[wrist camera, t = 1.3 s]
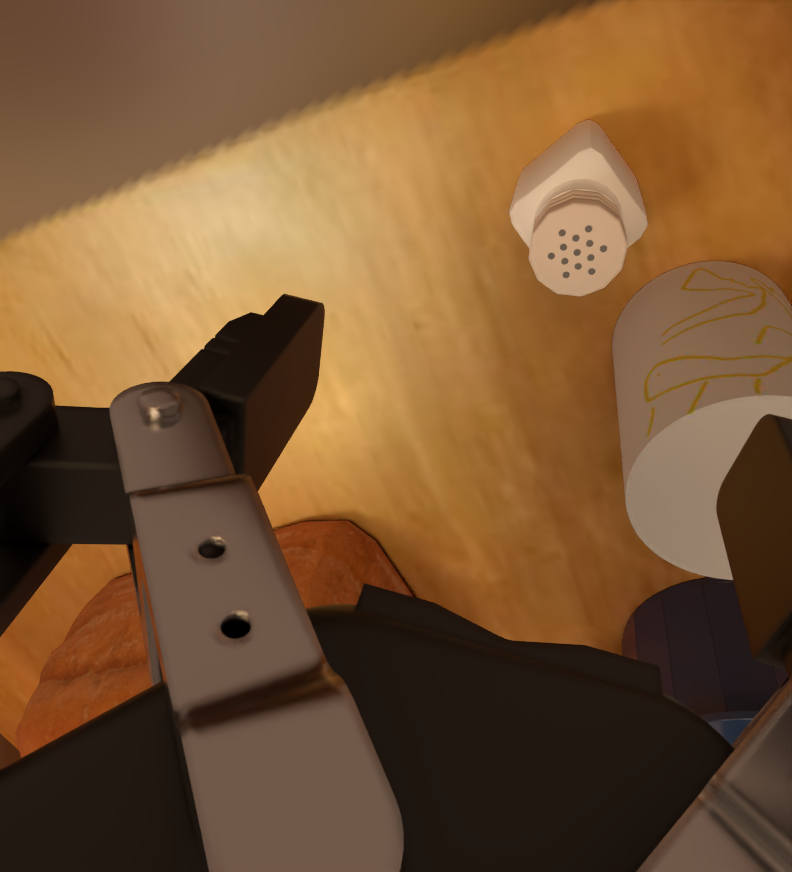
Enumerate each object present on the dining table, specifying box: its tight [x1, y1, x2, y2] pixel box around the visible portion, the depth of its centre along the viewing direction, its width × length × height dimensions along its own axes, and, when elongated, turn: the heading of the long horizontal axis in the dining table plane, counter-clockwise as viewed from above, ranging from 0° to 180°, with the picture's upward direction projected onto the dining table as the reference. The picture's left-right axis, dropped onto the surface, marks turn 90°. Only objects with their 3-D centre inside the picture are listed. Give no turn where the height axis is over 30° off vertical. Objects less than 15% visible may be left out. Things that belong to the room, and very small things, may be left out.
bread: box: [15, 521, 413, 758], centre depth 47 cm, size 14×27×15 cm, turn 119°
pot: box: [622, 577, 788, 715], centre depth 40 cm, size 13×13×10 cm
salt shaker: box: [509, 119, 648, 297], centre depth 26 cm, size 4×4×10 cm
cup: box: [612, 261, 792, 580], centre depth 28 cm, size 8×8×12 cm
